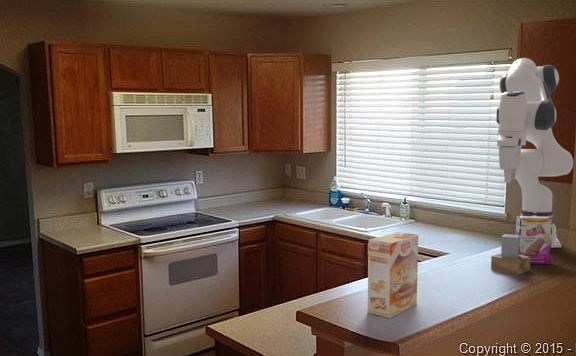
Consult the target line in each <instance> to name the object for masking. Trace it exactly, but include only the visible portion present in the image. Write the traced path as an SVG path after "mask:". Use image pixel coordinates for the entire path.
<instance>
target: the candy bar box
mask: <svg viewBox="0 0 576 356" xmlns="http://www.w3.org/2000/svg"><path fill="white" fill-rule="evenodd" d="M553 220H554V218H553V219H552V218H550V217H540V216H521V215H517V216H516V220H515V222H516V223H515V235H520V248H519V255H523V256H529V257H530V265H534V264H536V265H550V264H551V254H552V253H551V252H552V248H551V238H552V223H553ZM553 224H554V223H553Z"/></svg>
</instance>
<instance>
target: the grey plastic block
mask: <svg viewBox="0 0 576 356" xmlns="http://www.w3.org/2000/svg"><path fill="white" fill-rule="evenodd" d="M519 248H520V235H516V234H507V233H504V234H503V235H502V236H501V249H500V251H501V253H500V254H501V257H505V258H515V259H517V258H518V257H519Z"/></svg>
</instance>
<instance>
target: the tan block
mask: <svg viewBox="0 0 576 356" xmlns="http://www.w3.org/2000/svg"><path fill="white" fill-rule="evenodd" d="M490 260H491V262H490V270H491V271H493V272H499V273H504V274H509V275H514V276H518V275H521V274H524V273H527V272H530V271H531V270H530V269H531V264H530V257H529V256H523V255H519V257H518V258H517V259H515V258H505V257H501V253H497V254H495V255H491V256H490Z"/></svg>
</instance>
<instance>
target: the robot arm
mask: <svg viewBox="0 0 576 356" xmlns="http://www.w3.org/2000/svg"><path fill="white" fill-rule="evenodd" d="M559 81H560V76H559V72H558V70H557V68H556V67H555V66H554V65H552V64H545V65H542V66H539V65H538V66H537V65H536V62H534V61H533V60H532V59H530V58H528V57H521V58H518V59H516V60H515V61H513V63H512V64H511V65H510V67H509V68H508V71H507V72H506V73H505V74H503V75H502V76H501V77H500V80H499V90H500V92H501V96H500V100H499V106H498V107H497V108H496V120H495V122H496V123H497V125H498V129H497V140H496V141H497V143H496V145H497V147H498V160H499V161H498V162H499V169H500V170H503V175H504V176H503V177H504V183H507V184H508V183H511V182H512V180H516V181H517V182H518V185H519V187H520V189H521V199H522V201H521V207H522V208H521V210H520V215H519V216H540V217H550V218H552V219H553V220H554V211H553V192H552V191H551V189H550V188H548V187H547V186H546V185H543V184H541V183H540V182H539V181H540V180H539V177H560V176H564V175H568V174H569V173H571V171H572V169H573V167H574V159H573V156H572V154H571V153H570V152H569V151H568V150H566V149H565V148H563V147H562V146H561V145H560V144H559V143H558V142H557V139H556V138H555V136H554V133H553V130H552V127H553V126H554V125H555V123H556V121H557V109H556V107H555V103H554V102H553V101H552V97H551V95H552V93H553V92H555V91H556V89H557V87H559ZM526 142H529V143H531V144H533V145H534V147H536V148H522V147H523V146H526V144H527V143H526ZM552 248H553V249H554V248H562V244H561V243H560V240H559V239H558V234H557V226H556V224H554V223H552V238H551V249H552Z"/></svg>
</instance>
